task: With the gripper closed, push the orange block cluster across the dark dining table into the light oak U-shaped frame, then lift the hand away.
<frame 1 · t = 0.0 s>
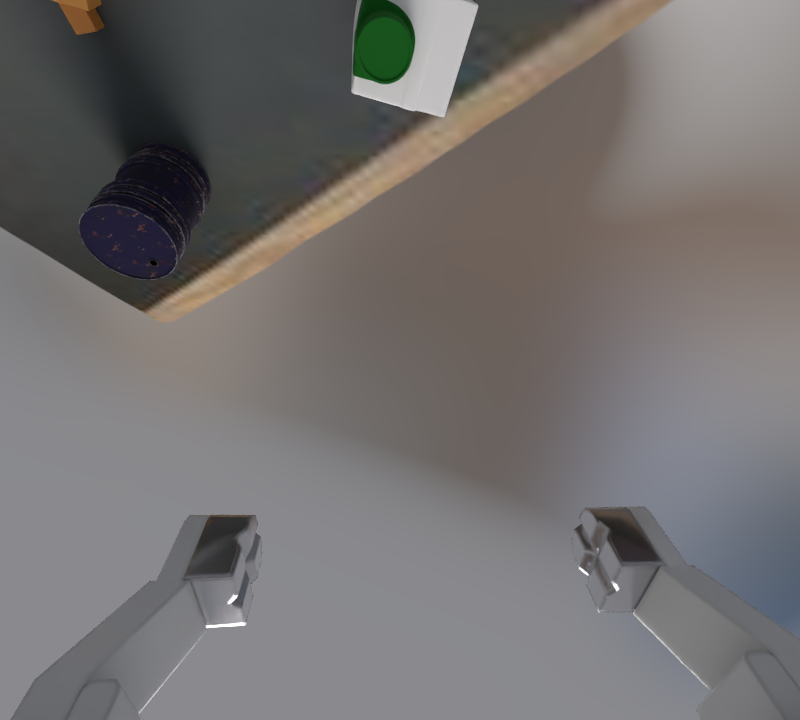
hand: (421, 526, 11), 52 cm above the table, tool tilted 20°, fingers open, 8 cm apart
milk carton: (401, 2, 43), on the table
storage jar: (172, 179, 56), on the table
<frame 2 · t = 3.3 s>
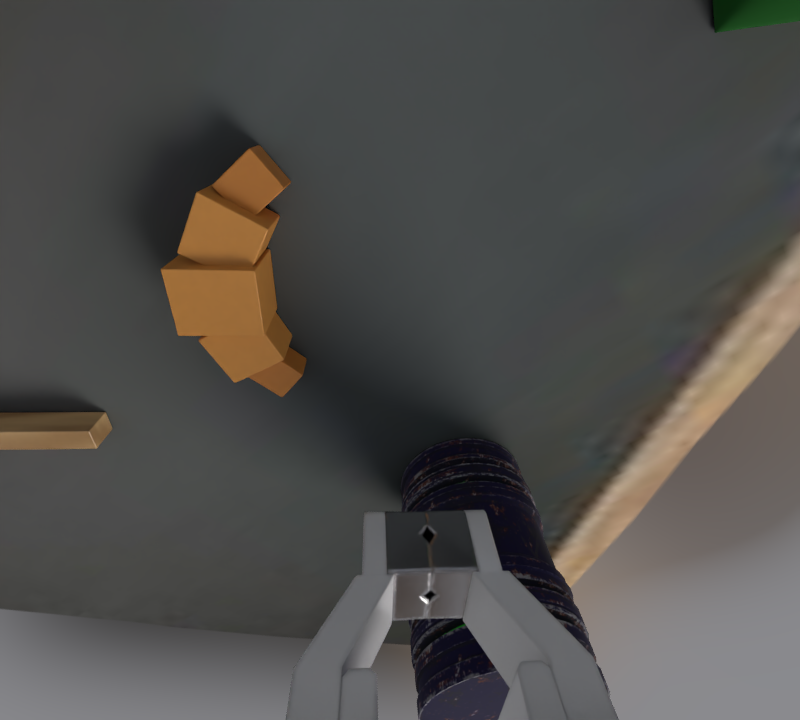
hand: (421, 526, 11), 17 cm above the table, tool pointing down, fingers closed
orange block cluster: (234, 279, 24), on the table
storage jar: (459, 481, 34), on the table
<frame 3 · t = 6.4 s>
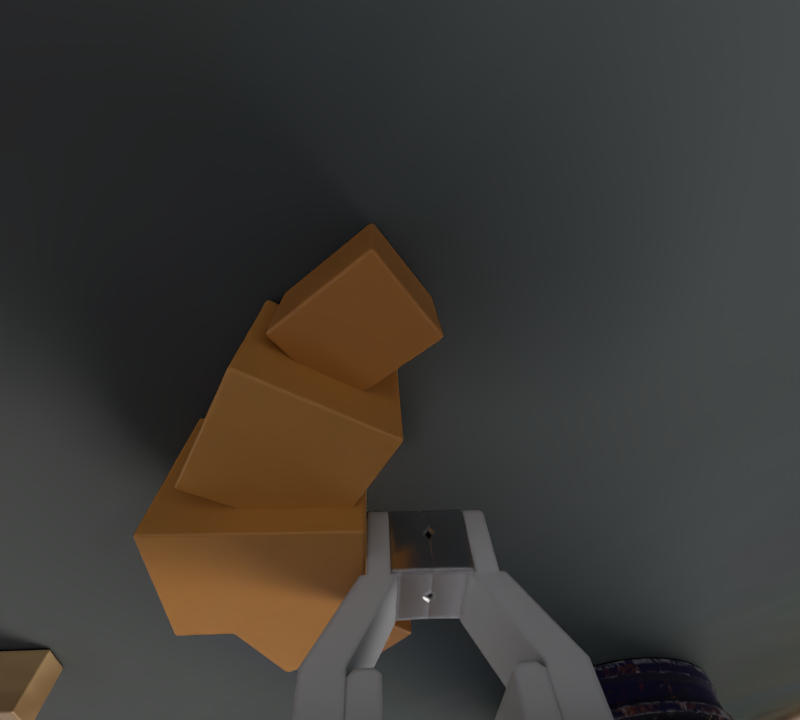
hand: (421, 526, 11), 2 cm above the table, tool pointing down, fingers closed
orange block cluster: (290, 467, 12), on the table, touching gripper
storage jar: (611, 700, 22), on the table
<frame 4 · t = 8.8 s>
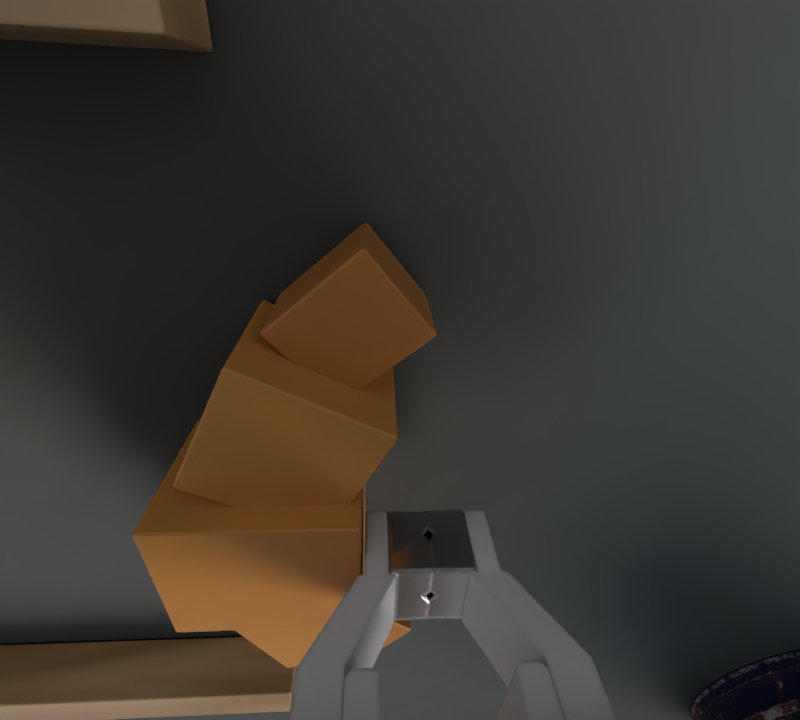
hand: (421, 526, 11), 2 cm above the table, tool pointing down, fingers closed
orange block cluster: (289, 465, 12), on the table, touching gripper
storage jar: (780, 687, 23), on the table
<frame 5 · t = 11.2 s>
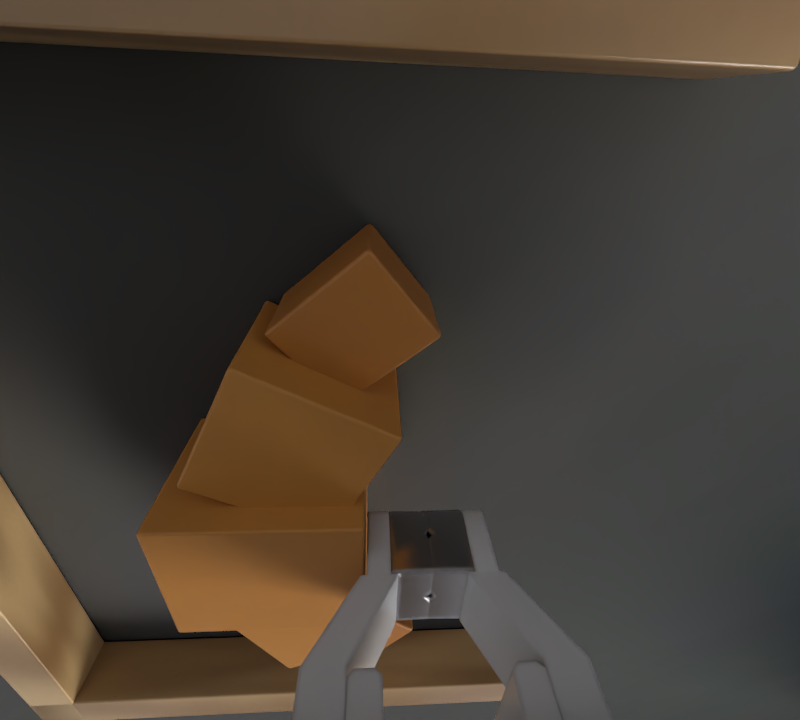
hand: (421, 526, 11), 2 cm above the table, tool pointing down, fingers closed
oak frame: (271, 460, 12), on the table
orange block cluster: (291, 465, 12), on the table, touching gripper
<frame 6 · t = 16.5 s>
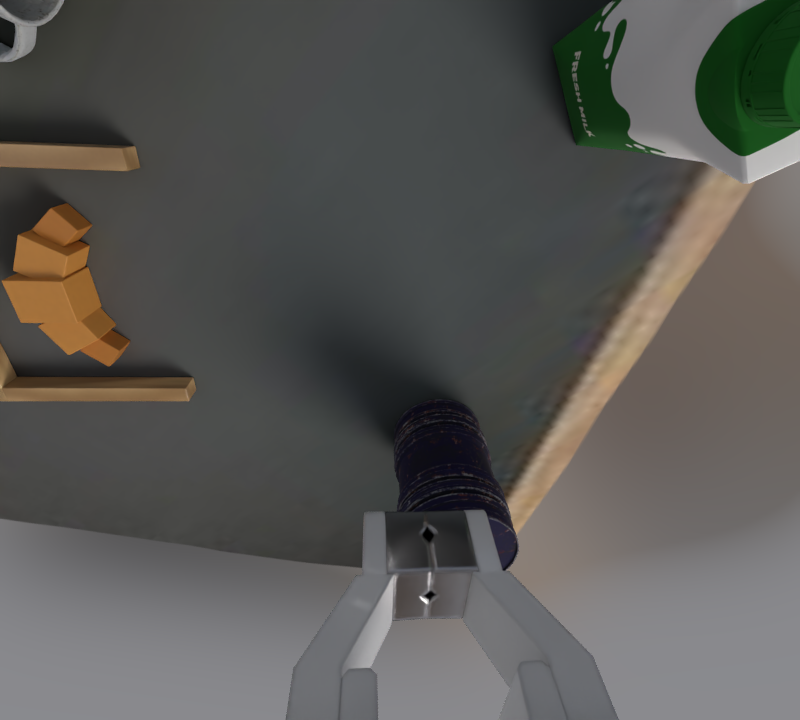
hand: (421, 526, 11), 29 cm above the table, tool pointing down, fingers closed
oak frame: (62, 284, 36), on the table
milk carton: (610, 73, 31), on the table
orange block cluster: (68, 286, 36), on the table
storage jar: (436, 432, 47), on the table
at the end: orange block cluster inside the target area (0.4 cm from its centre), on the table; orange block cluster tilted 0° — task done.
